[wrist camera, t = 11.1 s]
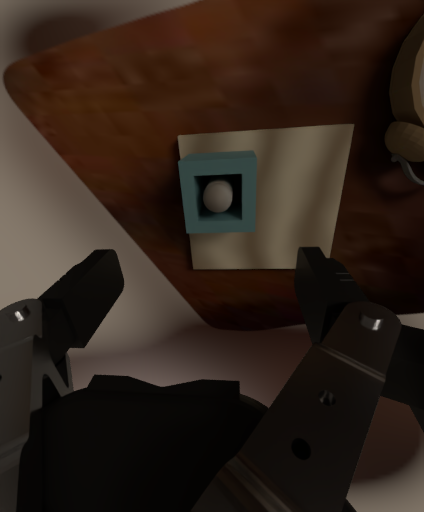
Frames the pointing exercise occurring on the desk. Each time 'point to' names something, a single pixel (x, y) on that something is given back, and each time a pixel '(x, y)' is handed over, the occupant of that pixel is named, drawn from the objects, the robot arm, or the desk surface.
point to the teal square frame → (195, 211)
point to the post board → (274, 194)
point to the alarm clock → (408, 103)
